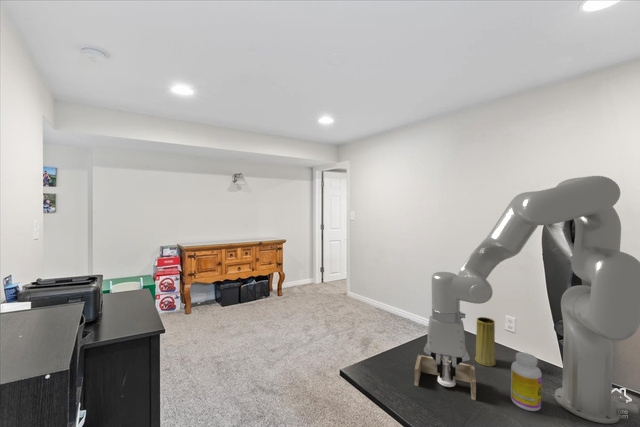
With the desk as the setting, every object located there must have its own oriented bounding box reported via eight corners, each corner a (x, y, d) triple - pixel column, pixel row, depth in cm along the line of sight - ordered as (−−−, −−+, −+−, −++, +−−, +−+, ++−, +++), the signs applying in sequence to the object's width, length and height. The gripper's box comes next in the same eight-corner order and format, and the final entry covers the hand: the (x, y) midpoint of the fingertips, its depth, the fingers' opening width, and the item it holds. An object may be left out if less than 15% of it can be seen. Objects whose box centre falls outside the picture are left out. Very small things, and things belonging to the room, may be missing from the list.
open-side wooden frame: (473, 381, 88) (474, 365, 88) (475, 400, 80) (475, 382, 80) (418, 369, 95) (418, 354, 95) (414, 385, 87) (414, 368, 87)
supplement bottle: (542, 416, 74) (543, 366, 74) (511, 406, 78) (511, 358, 77) (539, 400, 80) (540, 354, 79) (510, 392, 83) (511, 348, 83)
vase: (495, 360, 100) (496, 318, 100) (495, 368, 95) (495, 325, 94) (475, 355, 103) (476, 315, 103) (474, 363, 98) (474, 321, 98)
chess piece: (457, 387, 84) (457, 353, 84) (439, 386, 85) (438, 352, 85) (453, 377, 89) (452, 345, 88) (436, 376, 90) (435, 343, 89)
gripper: (475, 314, 86) (476, 375, 87) (418, 307, 93) (419, 364, 94) (477, 324, 79) (477, 390, 80) (415, 315, 86) (416, 377, 87)
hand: (446, 376), depth 87 cm, fingers closed on chess piece
